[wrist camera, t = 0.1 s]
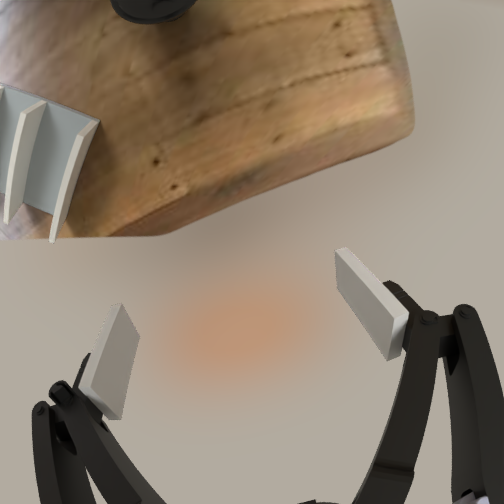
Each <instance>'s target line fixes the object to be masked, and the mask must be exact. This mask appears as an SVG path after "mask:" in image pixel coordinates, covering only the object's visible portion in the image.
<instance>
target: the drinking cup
mask: <svg viewBox="0 0 504 504" xmlns="http://www.w3.org/2000/svg"><path fill="white" fill-rule="evenodd" d="M110 1H111V4H112V7H113V9H114V10H115V12H116V13H117V14H118V15H119V16H121V17H122V18H124V19H125V20H127V21H130V22H133V23H137V24H158V23H162V22H170V21H174V20H176V19H178V18H180V17H181V16H182V15H183V14H184V13H185V12H186V11H187V10H188V9H190V8H191V7H192V6H193V5H194V4H195V2H196V1H197V0H110Z"/></svg>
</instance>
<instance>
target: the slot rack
mask: <svg viewBox="0 0 504 504" xmlns="http://www.w3.org/2000/svg"><path fill="white" fill-rule="evenodd" d="M99 122H100V120H99V119H96V118H94V117H91V116H89V115H87V114H84V113H82V112H79V111H77V110H74V109H72V108H69V107H67V106H64V105H61V104H59V103H56V102H54V101H51V100H48V99H45V98H43V97H40V96H37V95H34V94H32V93H29V92H26V91H23V90H20V89H17V88H14V87H11V86H8V85H5V84H2V83H0V193H2V194H5V205H4V223H6V224H9V222H10V221H11V219H12V218H13V216H14V215H15V213H16V212H17V210H18V209H19V207H20V206H21V205H22V203H25V204H28V205H30V206H32V207H35V208H37V209H40V210H42V211H44V212H47V213H49V214H52V215H54V216H53V220H52V226H51V231H50V237H49V242H51V243H53V244H54V243H55V241H56V238H57V236H58V234H59V232H60V230H61V228H62V226H63V224H64V221H65V219H66V217H67V215H68V211H69V207H70V203H71V200H72V196H73V193H74V190H75V186H76V183H77V180H78V177H79V174H80V171H81V168H82V165H83V163H84V160H85V157H86V154H87V152H88V149H89V146H90V144H91V141H92V139H93V136H94V134H95V132H96V129H97V127H98V125H99Z"/></svg>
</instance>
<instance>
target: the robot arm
mask: <svg viewBox="0 0 504 504" xmlns="http://www.w3.org/2000/svg"><path fill="white" fill-rule="evenodd" d="M334 251H335V264H336V278H337V289H338V290H339V292H340V293H341V295H342V296H343V297H344V299H345V300H346V302H347V303H348V304H349V306H350V307H351V309H352V310H353V312H354V313H355V315H356V316H357V317H358V319H359V320H360V322H361V323H362V325H363V326H364V327H365V329H366V331H367V332H368V333H369V335H370V336H371V338H372V339H373V341H374V342H375V344H376V345H377V347H378V348H379V350H380V351H381V353H382V354H383V356H384V357H385V359H386V360H387V361H389V360H391V359H394V358H396V357H398V356H400V355H401V351H402V347H403V349H404V350H405V351H406V357H405V360H404V364H403V370H402V374H401V378H400V381H399V385H398V389H397V392H396V396H395V399H394V403H393V406H392V409H391V412H390V415H389V419H388V422H387V425H386V427H385V430H384V433H383V436H382V439H381V441H380V444H379V446H378V449H377V451H376V454H375V456H374V459H373V461H372V463H371V466H370V468H369V470H368V472H367V475H366V477H365V479H364V481H363V483H362V485H361V487H360V489H359V491H358V493H357V495H356V497H355V498H354V501H353V502H352V504H404V502H405V500H406V497H407V495H408V492H409V489H410V487H411V484H412V481H413V478H414V467H415V463H416V460H417V457H418V454H419V450H420V447H421V443H422V440H423V436H424V432H425V428H426V424H427V420H428V415H429V411H430V406H431V401H432V396H433V390H434V384H435V377H436V370H437V362H438V358H441V357H443V363H444V369H445V375H446V382H447V389H448V397H449V406H450V418H451V435H452V478H451V493H452V502H453V504H504V397H503V392H502V388H501V384H500V380H499V376H498V372H497V368H496V365H495V362H494V358H493V355H492V352H491V349H490V346H489V343H488V340H487V337H486V334H485V331H484V329H483V326H482V323H481V321H480V318H479V316H478V313H477V311H476V310H475V308H473V307H472V306H470V305H467V304H461V305H458V306H456V307H455V309H454V311H453V314H451V315H445V316H438V314H436V313H435V312H433V311H429V310H423V309H422V308H421V307H420V306H419V305H418V304H417V303H416V302H415V301H414V300H413V299H412V298H411V297H410V296H409V295H408V294H407V293H406V292H405V291H403V289H402V288H401V287H400V286H399V285H398V284H396V283H394V282H392V281H390V280H389V281H387V282H383V283H381V282H380V281H379V280H378V279H377V277H376V276H375V275H374V274H373V273H372V272H371V271H370V270H369V269H368V268H367V267H366V266H365V265H364V264H363V263H362V262H361V261H359V259H358V258H357V257H356V256H355V255H354V254H353V253H352V252H351V251H350V250H349V249H348V248H347V247H344V248H340V249H336V250H334ZM139 338H140V335H139V334H138V332H137V330H136V328H135V327H134V325H133V323H132V321H131V319H130V317H129V316H128V314H127V312H126V310H125V308H124V306H123V304H122V303H120V304H115V305H112V306H111V308H110V310H109V313H108V315H107V317H106V319H105V321H104V324H103V326H102V328H101V330H100V333H99V335H98V338H97V340H96V342H95V345H94V347H93V350H92V352H91V353H88V354H87V356H86V357H85V358H84V359H83V362H82V364H81V368H80V369H79V372H78V374H77V377H76V380H75V382H74V385H73V388H71V387H70V386H69V385H68V384H67V382H66V381H63V380H62V381H58V382H56V383H55V384H54V385H52V387H51V388H50V390H49V397H50V398H51V399H52V400H53V401H54V402H55V403H56V405H53V406H50V405H49V404H47V402H46V401H40V402H38V403H37V404H36V405H35V406H34V408H33V410H32V440H33V455H34V464H35V473H36V480H37V486H38V492H39V497H40V502H41V504H96V501H95V498H94V495H93V492H92V489H91V486H90V482H89V479H88V476H87V472H86V469H87V470H88V472H89V474H90V476H91V478H92V479H93V481H94V483H95V485H96V486H97V488H98V490H99V491H100V493H101V494H102V496H103V498H104V499H105V501H106V502H107V504H166V503H165V502H164V500H163V499H162V498H161V497H160V496H159V495H158V494H157V493H156V492H155V490H154V489H153V488H152V487H151V486H150V485H149V483H148V482H147V481H146V480H145V479H144V477H143V476H142V475H141V474H140V472H139V471H138V470H137V468H136V467H135V466H134V464H133V463H132V462H131V460H130V459H129V458H128V456H127V455H126V454H125V452H124V451H123V449H122V448H121V446H120V445H119V443H118V442H117V441H116V439H115V437H114V436H113V434H112V433H111V431H110V430H109V429H108V427H107V425H106V423H105V422H104V421H103V420H102V416H103V414H104V415H105V416H106V417H107V418H108V419H109V420H121V418H122V413H123V407H124V402H125V397H126V393H127V388H128V383H129V379H130V375H131V370H132V366H133V362H134V358H135V354H136V350H137V346H138V342H139ZM85 467H86V468H85ZM299 504H337V503H330V502H329V503H328V502H327V503H326V502H319V503H316V500H311V501H307V502H304V503H299Z"/></svg>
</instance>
